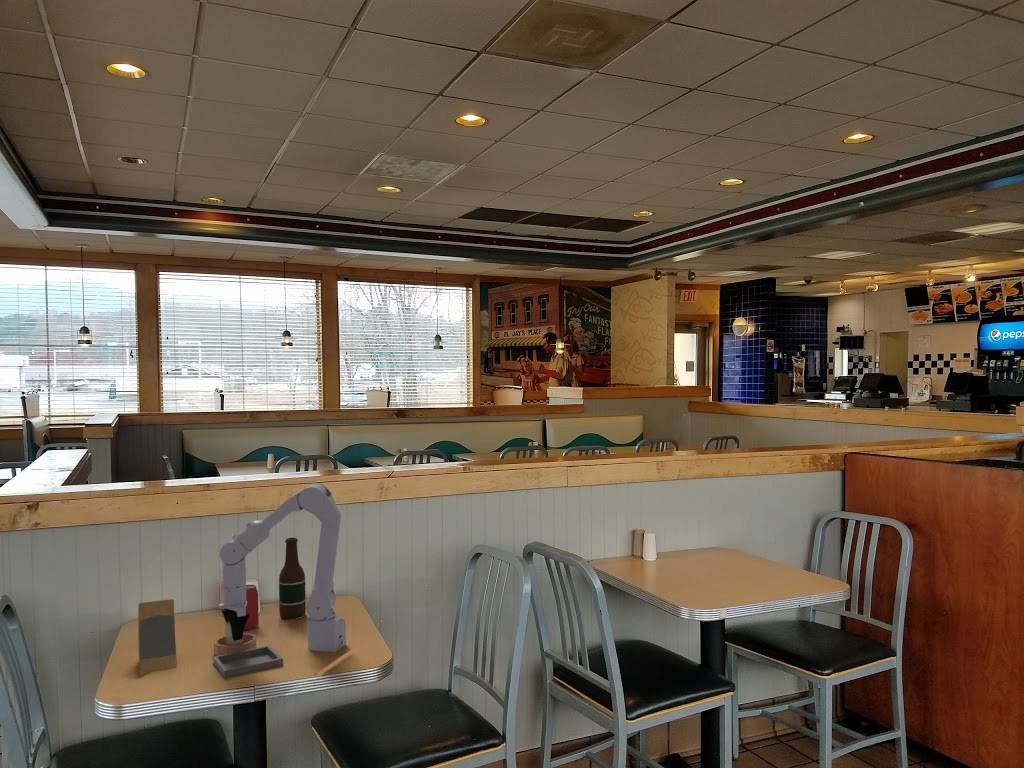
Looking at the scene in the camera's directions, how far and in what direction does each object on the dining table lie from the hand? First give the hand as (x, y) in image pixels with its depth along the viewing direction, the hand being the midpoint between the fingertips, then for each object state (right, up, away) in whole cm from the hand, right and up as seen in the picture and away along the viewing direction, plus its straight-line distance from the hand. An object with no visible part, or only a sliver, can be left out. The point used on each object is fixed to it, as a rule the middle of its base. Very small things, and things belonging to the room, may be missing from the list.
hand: (235, 637), depth 197 cm
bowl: (0, -4, 0) cm, 4 cm away
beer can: (-5, -5, +22) cm, 23 cm away
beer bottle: (+6, -5, +33) cm, 33 cm away
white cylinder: (0, -1, 0) cm, 1 cm away
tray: (+7, -4, -10) cm, 13 cm away
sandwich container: (-17, -5, -8) cm, 19 cm away
